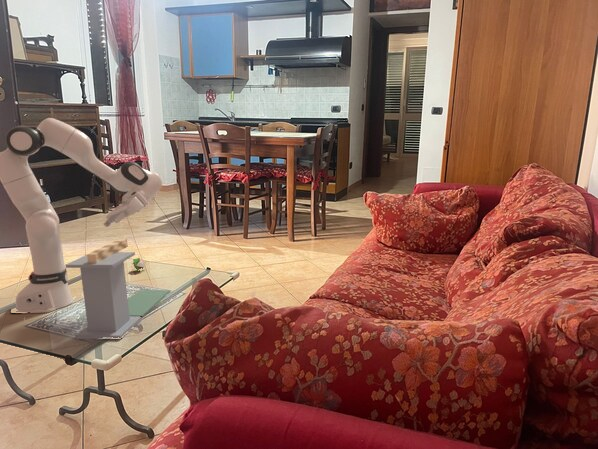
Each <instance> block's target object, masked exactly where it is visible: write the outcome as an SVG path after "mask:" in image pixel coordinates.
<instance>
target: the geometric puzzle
mask: <svg viewBox="0 0 598 449" xmlns="http://www.w3.org/2000/svg"><path fill="white" fill-rule="evenodd" d="M146 263H147V262H146V261H144V260H143V259H141V258H140V257H138V258H135V259H132V264H131V267H130V268H132V270H135V268H136V269H137V270H136V272H137V271H138V270H139V269H141V268H142V269H143V268H145V267H146V265H145V264H146ZM132 265H133V266H132ZM133 267H134V268H133Z"/></svg>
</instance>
